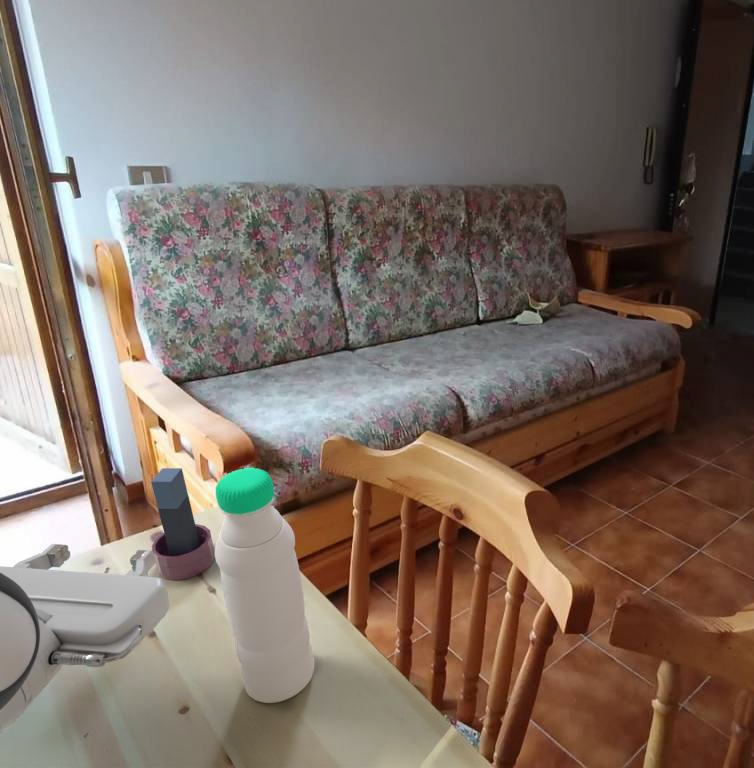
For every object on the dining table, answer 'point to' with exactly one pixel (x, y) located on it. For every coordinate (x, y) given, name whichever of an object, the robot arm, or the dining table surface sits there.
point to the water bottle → (262, 588)
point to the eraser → (175, 511)
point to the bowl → (184, 557)
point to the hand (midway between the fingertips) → (105, 552)
